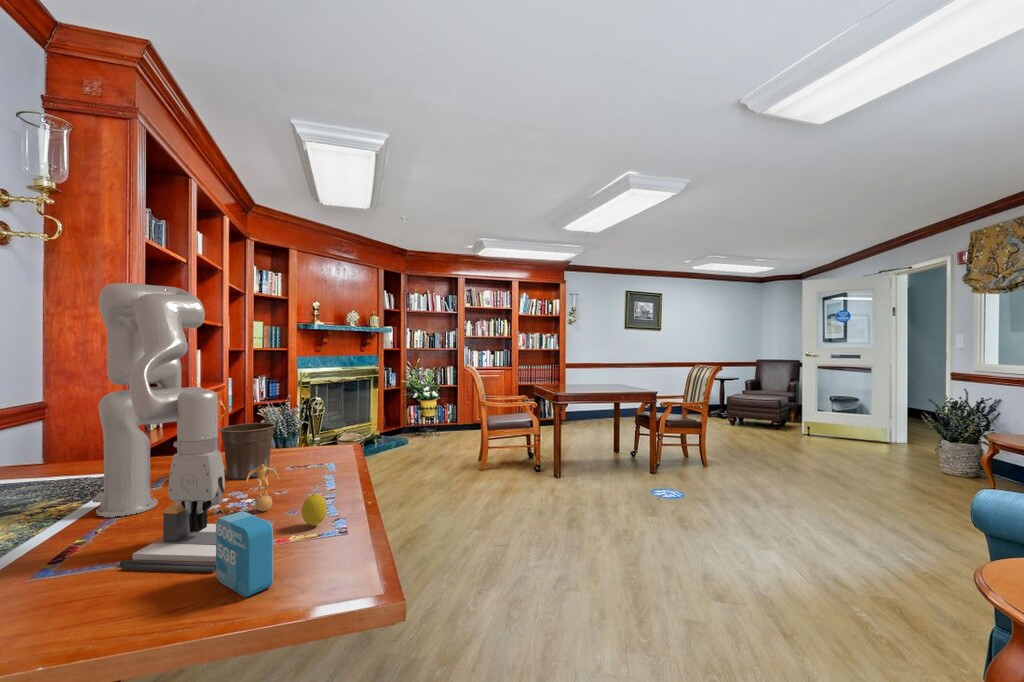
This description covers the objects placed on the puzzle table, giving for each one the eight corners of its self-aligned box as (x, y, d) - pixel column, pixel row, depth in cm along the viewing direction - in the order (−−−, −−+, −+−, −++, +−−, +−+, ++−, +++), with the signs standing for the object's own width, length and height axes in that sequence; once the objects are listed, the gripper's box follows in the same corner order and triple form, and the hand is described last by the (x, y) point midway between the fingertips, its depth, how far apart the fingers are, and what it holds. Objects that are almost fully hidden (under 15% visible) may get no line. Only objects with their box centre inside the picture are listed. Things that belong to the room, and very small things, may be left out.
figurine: (248, 516, 120) (247, 469, 120) (242, 510, 125) (242, 465, 125) (283, 509, 126) (283, 464, 126) (276, 503, 130) (276, 459, 130)
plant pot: (234, 469, 165) (234, 422, 165) (282, 467, 167) (282, 421, 167) (209, 483, 149) (209, 431, 149) (263, 481, 151) (263, 430, 150)
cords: (112, 570, 92) (112, 565, 92) (123, 564, 95) (123, 559, 95) (212, 573, 91) (212, 568, 91) (221, 567, 94) (221, 562, 94)
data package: (215, 580, 89) (215, 516, 89) (240, 570, 92) (240, 509, 92) (248, 600, 82) (247, 531, 82) (273, 589, 86) (273, 522, 86)
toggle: (163, 541, 102) (163, 509, 102) (181, 531, 107) (181, 501, 107) (176, 541, 102) (176, 509, 102) (193, 532, 107) (193, 502, 107)
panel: (131, 559, 97) (131, 552, 97) (189, 528, 113) (189, 522, 113) (227, 562, 96) (227, 555, 96) (272, 530, 112) (272, 524, 112)
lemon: (331, 523, 116) (331, 491, 116) (315, 532, 111) (315, 498, 111) (313, 520, 118) (313, 488, 118) (296, 529, 112) (296, 495, 112)
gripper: (151, 450, 101) (152, 536, 101) (219, 451, 100) (219, 537, 100) (178, 442, 109) (179, 522, 109) (241, 443, 108) (241, 524, 108)
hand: (198, 529), depth 104 cm, fingers closed
